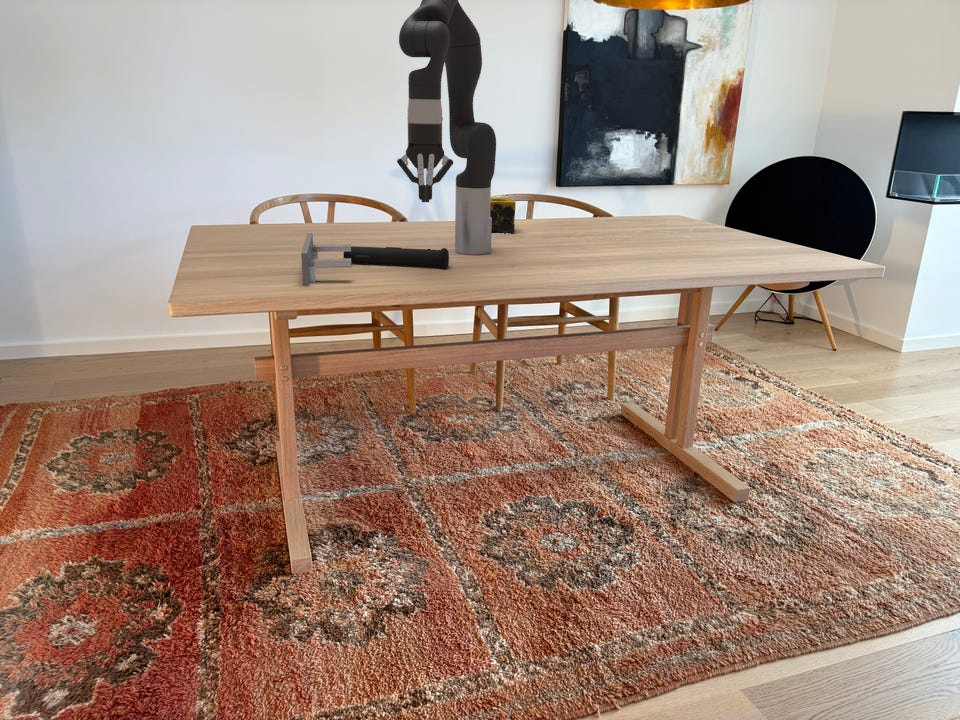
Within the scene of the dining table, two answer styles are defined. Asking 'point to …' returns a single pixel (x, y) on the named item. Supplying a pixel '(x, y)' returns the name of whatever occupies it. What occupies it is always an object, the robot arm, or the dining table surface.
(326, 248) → the grey u-shaped bracket
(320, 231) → the dining table surface
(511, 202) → the black and yellow cube
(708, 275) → the dining table surface
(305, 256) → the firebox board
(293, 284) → the dining table surface
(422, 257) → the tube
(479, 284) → the dining table surface
